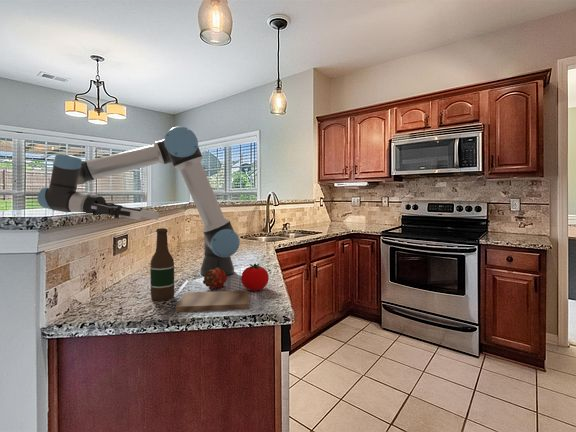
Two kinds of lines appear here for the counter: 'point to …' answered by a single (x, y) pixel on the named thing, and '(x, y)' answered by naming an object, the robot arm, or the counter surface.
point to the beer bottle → (162, 269)
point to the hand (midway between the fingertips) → (150, 216)
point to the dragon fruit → (215, 278)
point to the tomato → (254, 277)
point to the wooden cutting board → (213, 301)
